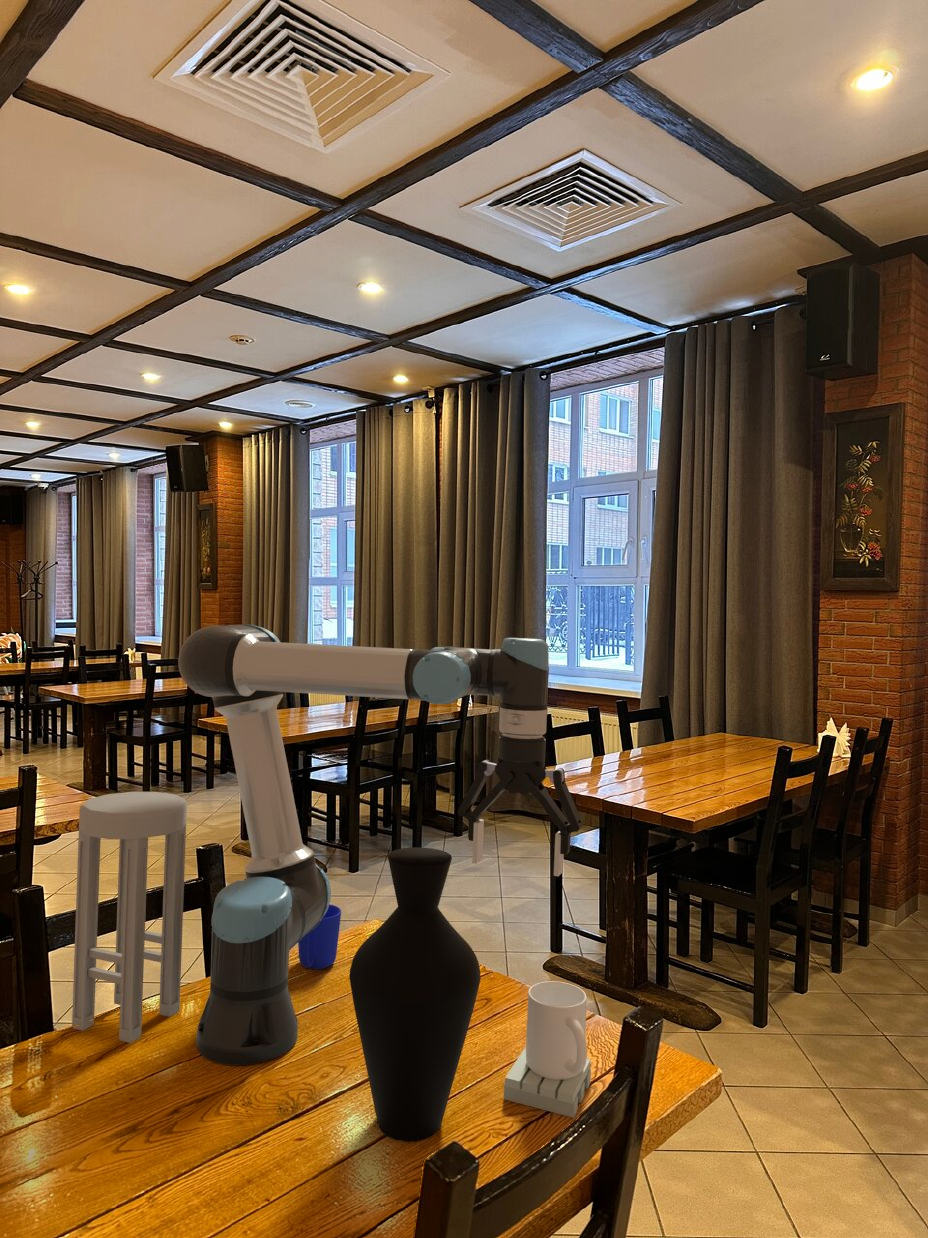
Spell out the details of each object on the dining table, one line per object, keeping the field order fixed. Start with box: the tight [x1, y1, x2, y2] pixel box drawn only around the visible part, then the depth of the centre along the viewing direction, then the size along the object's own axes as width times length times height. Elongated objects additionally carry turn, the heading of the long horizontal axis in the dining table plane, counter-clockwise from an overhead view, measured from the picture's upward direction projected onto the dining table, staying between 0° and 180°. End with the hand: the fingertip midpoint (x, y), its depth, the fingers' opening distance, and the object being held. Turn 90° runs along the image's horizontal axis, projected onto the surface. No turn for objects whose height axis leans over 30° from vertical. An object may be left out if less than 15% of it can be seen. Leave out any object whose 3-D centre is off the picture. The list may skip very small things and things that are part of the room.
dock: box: [503, 1046, 592, 1119], centre depth 120 cm, size 10×10×3 cm
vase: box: [348, 847, 482, 1143], centre depth 111 cm, size 17×17×35 cm
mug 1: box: [297, 903, 342, 970], centre depth 157 cm, size 8×12×10 cm
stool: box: [71, 791, 188, 1044], centre depth 135 cm, size 16×16×35 cm
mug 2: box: [525, 980, 588, 1080], centre depth 119 cm, size 12×8×10 cm
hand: (517, 867), depth 135 cm, fingers open, 13 cm apart
